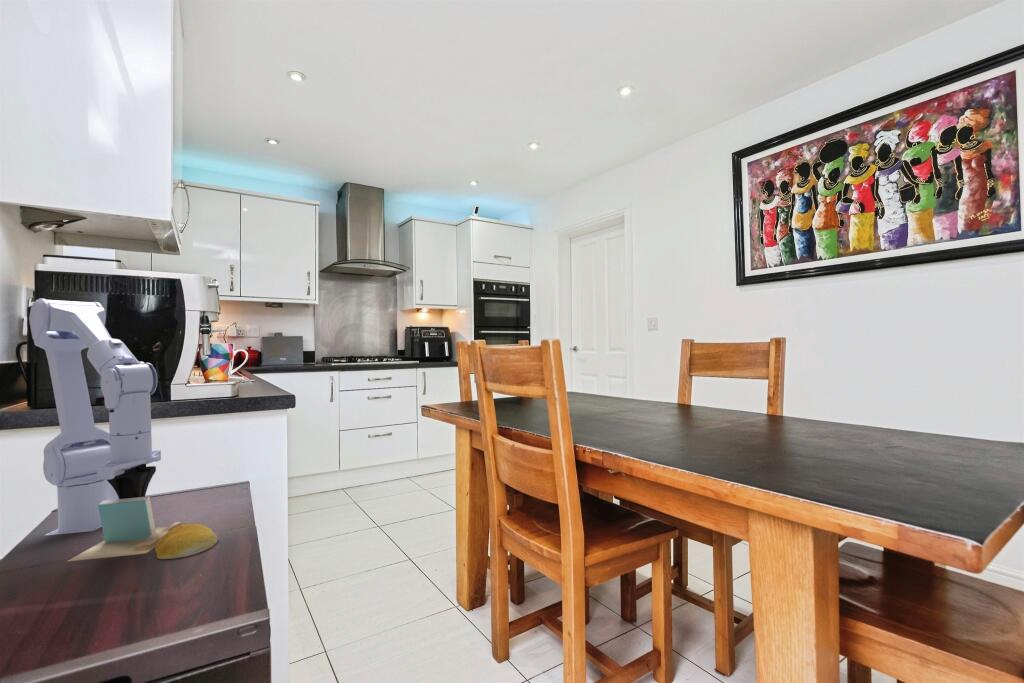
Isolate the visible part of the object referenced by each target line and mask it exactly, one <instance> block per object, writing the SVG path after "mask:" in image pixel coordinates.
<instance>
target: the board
mask: <svg viewBox="0 0 1024 683" xmlns="http://www.w3.org/2000/svg"><path fill="white" fill-rule="evenodd" d="M167 527H168V526H160V527H155V530H156V532H161V531H162V530H164V529H165V528H167ZM143 540H144V539H138V540H128V541H118V542H108V543H105V539H104V540H102V541H100V542H98V543H97V544H95V545H93V546H91V547H89V548H87V549H86V550H84V551H82V552H81V553H79V554H76V556H73V557H72V558H70V559H69V560H66V562H77V561H79V562H80V561H85V560H86V561H88V560H96V559H105V558H106V559H107V558H115V557H123V556H125V557H126V556H134V555H144V554H146V555H147V554H148V553H149V552H150V551H152V550H153V549H155V547H156V546H155V547H154V548H152V549H150V550H141V551H134V546H135V545H136V544H138V543H139V542H141V541H143Z"/></svg>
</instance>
